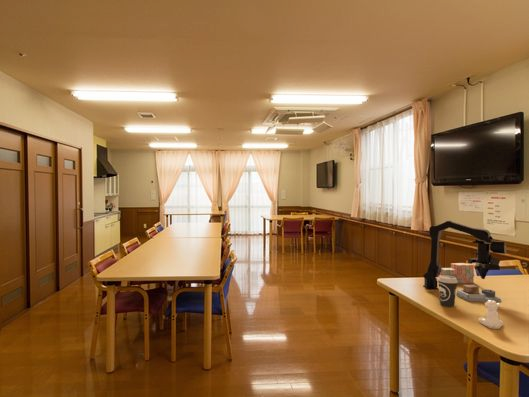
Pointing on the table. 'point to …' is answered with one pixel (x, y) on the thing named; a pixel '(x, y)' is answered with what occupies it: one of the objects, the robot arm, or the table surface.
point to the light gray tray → (476, 296)
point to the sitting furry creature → (491, 315)
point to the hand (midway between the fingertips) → (483, 278)
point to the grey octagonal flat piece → (488, 293)
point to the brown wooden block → (471, 289)
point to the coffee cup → (447, 290)
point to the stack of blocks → (460, 272)
